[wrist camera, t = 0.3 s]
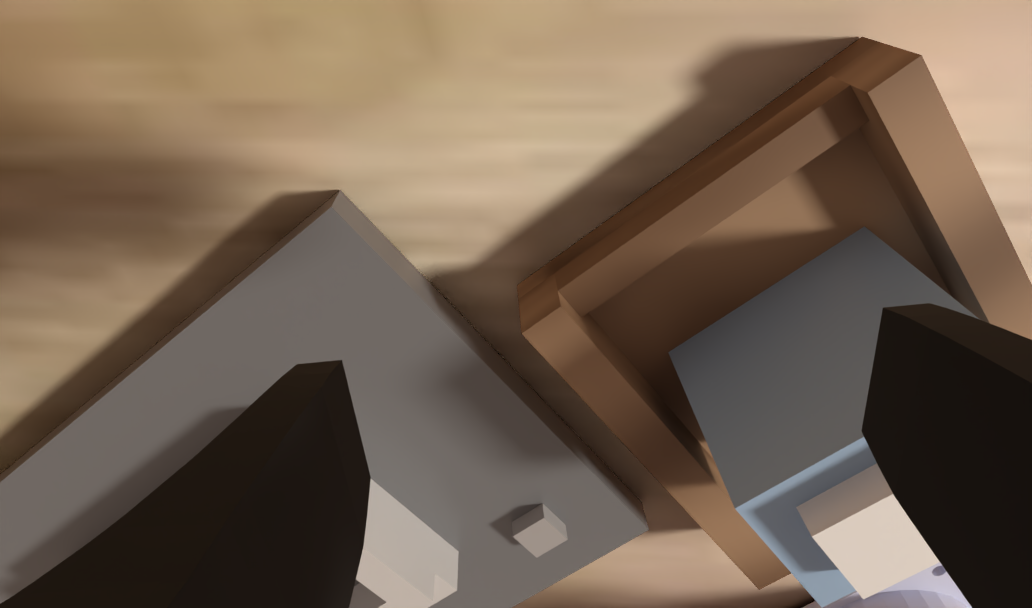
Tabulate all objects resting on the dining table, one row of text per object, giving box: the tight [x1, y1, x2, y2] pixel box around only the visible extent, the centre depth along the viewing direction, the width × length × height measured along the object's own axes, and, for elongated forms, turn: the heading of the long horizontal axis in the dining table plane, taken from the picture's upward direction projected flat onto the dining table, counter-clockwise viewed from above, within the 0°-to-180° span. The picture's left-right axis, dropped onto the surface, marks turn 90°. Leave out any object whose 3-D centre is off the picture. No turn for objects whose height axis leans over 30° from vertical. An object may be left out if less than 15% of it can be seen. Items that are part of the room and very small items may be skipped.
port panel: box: [0, 190, 649, 608], centre depth 22 cm, size 14×20×4 cm
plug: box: [668, 226, 980, 607], centre depth 17 cm, size 4×6×7 cm, turn 128°
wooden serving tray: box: [517, 37, 1032, 590], centre depth 19 cm, size 12×10×3 cm
